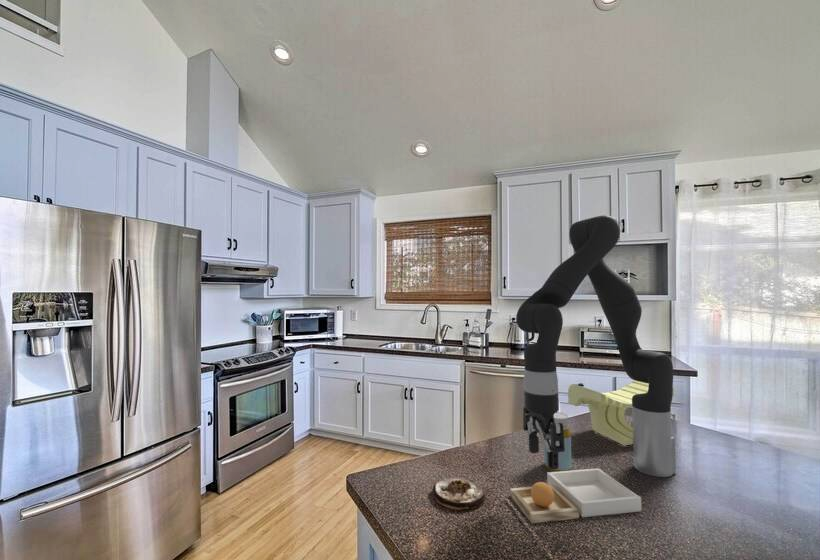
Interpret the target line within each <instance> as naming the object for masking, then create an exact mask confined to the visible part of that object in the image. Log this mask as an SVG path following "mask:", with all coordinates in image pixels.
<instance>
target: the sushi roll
mask: <svg viewBox="0 0 820 560" xmlns="http://www.w3.org/2000/svg"><path fill="white" fill-rule="evenodd" d="M484 491H485V490H484V489H483V487H482V485H481V484H479V483H478V482H477V481H476V480H473V481H472V480H471V479H469V478H468V477H460V476H459V477H458V476H454V477H449V478H444V479H441V480H439V481H437V482H435V484H434V485H433V488H432V493H433V496H434V501H435V503H436V504H438V505H439V507H442V508H443V509H447V510H450V511H453V512H454V511H460V510H461V512H466V511H467V512H469V513H470V512H471V511H470V510H474V509H477V508H478V509H479V510H482V509H483V508H484V507H482V506H483V505H484V504H485V501H486V493H485V492H484Z"/></svg>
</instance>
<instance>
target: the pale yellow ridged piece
mask: <svg viewBox="0 0 820 560" xmlns="http://www.w3.org/2000/svg"><path fill="white" fill-rule="evenodd" d="M648 387H649V384H648V383H643V382H639V381H635V380H633V381H632V383H628V384H626V385H625V386H623V387H620V388H619V389H617V390H613V391H607V392H599V391H596V390H593V389H590V388H587V387H584V386H581V385H577V384H575V383H572V384H570V385H569V387H568V388H567V389H568V390H567V394H568V395H567V396H568V398H567V399H568V402H567V403H568V404H570V405H572V406H574V407H579V406H581V405H587V407H588V410H589V414H590V419H591V421H590V423H591V427H592V431H593V430H594V431H596V432H598V433H600V434H602V435H605V436H607V437H609V438H611V439H613V440H615V441H617V442H619V443H621V444H623V445H629V444H633V425H630V423H628V422H627V421H626V418H625V413H626V410H627V409H632V397H633V396H634V395H636V394H643V393H647V392H648ZM674 388H675V387H674V386H673V396H675V390H674ZM594 431H593V432H594Z"/></svg>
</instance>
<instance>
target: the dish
mask: <svg viewBox="0 0 820 560" xmlns="http://www.w3.org/2000/svg"><path fill="white" fill-rule="evenodd" d="M546 474H547V475H546V478H547V482H546V484H548V485H553V486H554V487H555V488H556V489H557V490H558V491H559V492H560V493H561V494H562V495H563V496H564V497H566V498H567V499H568V500H569V501H570V502H571V503H572V504H573V505H574V506H575V507H576V508H577V509H578V510H579V517H580V516H581V518H588V517H598V516H608V515H616V514H617V515H618V514H625V513H626V514H627V513H629V514H630V513H636V512H642V496H640V495H638V494H636V493H635V492H634V491H632V490H631V489H629V488H628V487H626V485H623V484H622V483H620V482H619V481H618V480H616V479H615V478H614V477H612V476H610V475H609V474H607V473H606V472H605V471H603V470H602V469H600V468H586V469H574V470H573V469H571V470H570V471H560V472H555V471H550V472H546Z"/></svg>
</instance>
